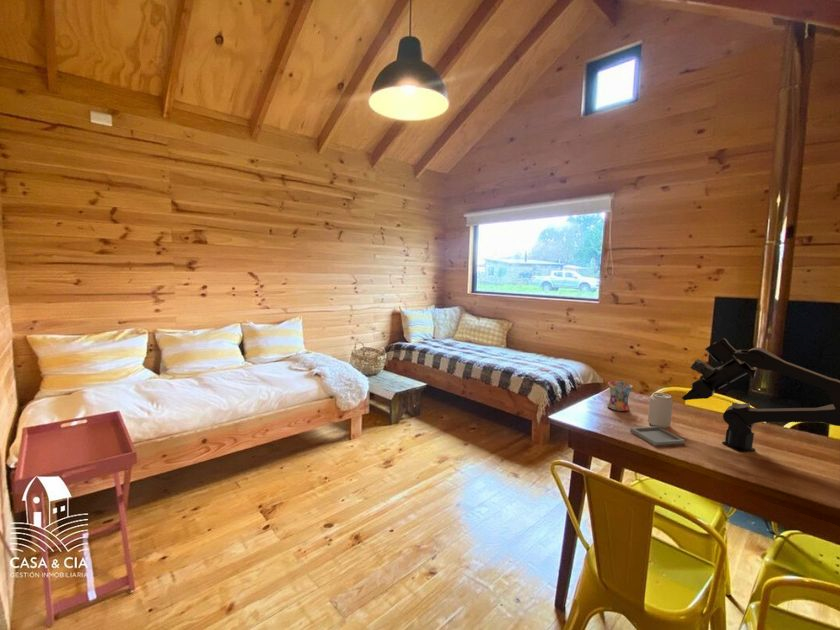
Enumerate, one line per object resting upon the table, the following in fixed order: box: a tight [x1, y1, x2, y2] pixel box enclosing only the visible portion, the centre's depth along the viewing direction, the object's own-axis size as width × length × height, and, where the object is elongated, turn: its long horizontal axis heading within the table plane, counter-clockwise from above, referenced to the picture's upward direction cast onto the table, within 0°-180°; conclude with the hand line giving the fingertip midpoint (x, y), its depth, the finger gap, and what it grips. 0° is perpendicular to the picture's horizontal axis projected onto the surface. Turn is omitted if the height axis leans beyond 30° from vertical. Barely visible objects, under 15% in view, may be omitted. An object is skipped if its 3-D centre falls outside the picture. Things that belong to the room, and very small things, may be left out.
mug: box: [606, 380, 634, 412], centre depth 164 cm, size 12×9×11 cm
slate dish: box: [630, 426, 686, 448], centre depth 136 cm, size 12×12×2 cm
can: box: [647, 392, 674, 429], centre depth 147 cm, size 8×8×12 cm
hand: (685, 396), depth 141 cm, fingers open, 9 cm apart
